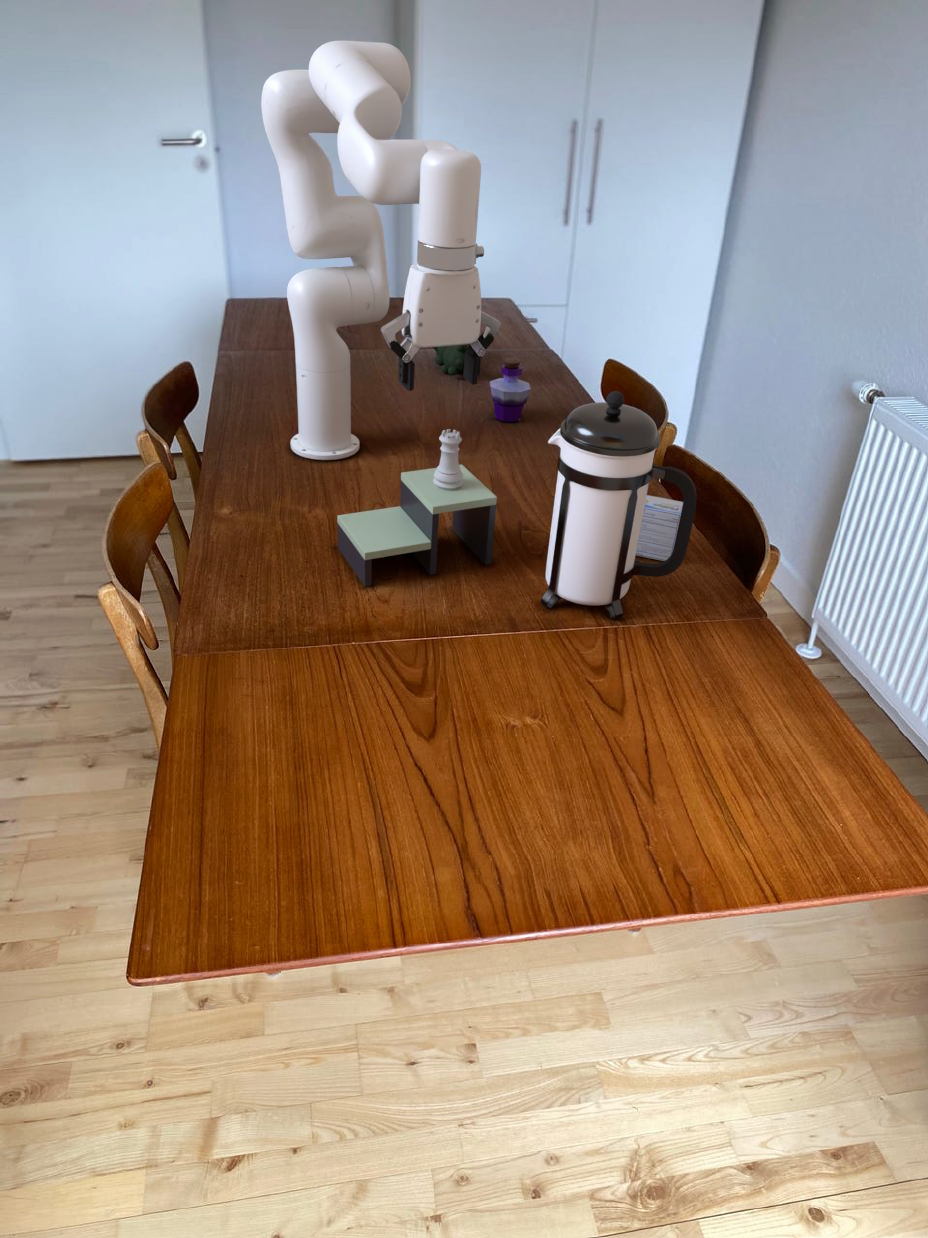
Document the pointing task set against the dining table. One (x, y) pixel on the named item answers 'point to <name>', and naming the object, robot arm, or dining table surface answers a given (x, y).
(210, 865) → the dining table surface
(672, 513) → the medicine box
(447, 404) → the dining table surface
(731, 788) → the dining table surface
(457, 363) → the toy figurine
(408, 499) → the rack
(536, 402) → the dining table surface
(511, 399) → the potion bottle
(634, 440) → the coffee press
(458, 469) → the rook chess piece
